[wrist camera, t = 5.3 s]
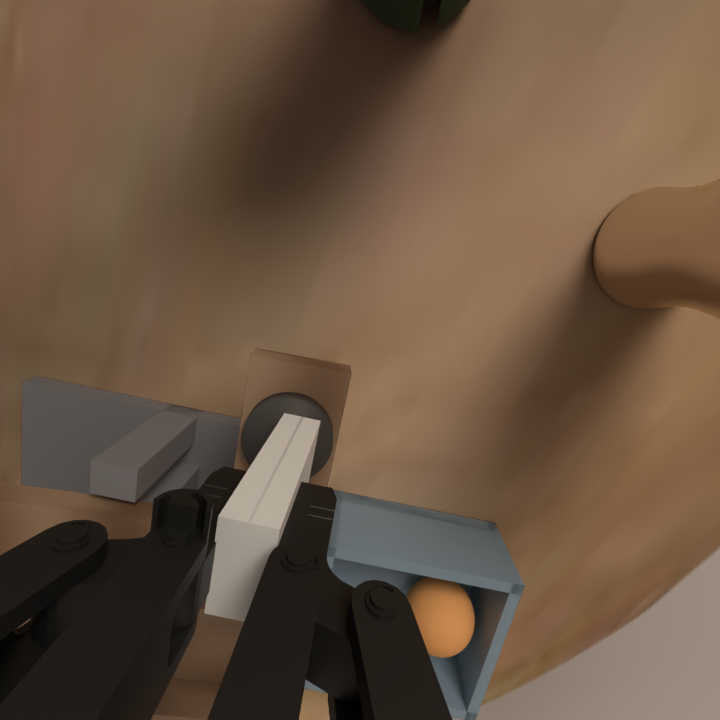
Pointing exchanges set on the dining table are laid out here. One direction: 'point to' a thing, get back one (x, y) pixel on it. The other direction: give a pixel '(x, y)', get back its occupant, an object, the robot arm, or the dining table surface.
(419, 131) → the dining table surface
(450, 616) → the ball
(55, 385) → the lever base
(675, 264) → the beer glass
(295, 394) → the tilt lever
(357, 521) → the cup
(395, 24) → the character mug
